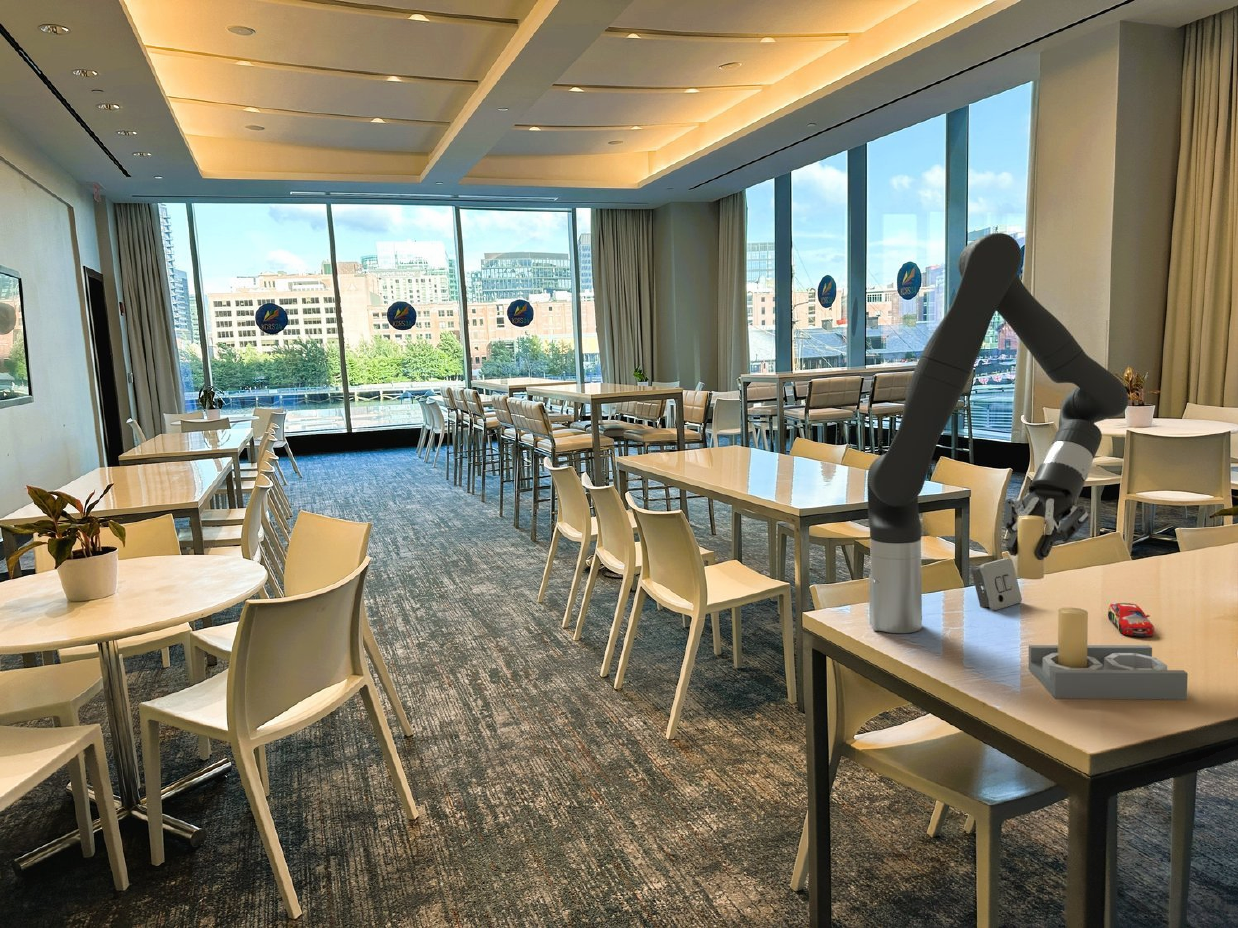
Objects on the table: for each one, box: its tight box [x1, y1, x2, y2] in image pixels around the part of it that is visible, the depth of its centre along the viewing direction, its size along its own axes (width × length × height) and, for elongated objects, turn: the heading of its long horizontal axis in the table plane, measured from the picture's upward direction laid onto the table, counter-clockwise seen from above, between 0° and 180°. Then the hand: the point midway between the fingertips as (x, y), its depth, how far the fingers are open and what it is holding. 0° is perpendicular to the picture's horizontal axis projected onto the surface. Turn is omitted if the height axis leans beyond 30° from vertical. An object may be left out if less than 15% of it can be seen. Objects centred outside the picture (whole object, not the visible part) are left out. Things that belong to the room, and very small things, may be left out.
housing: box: [1027, 606, 1189, 701], centre depth 129 cm, size 18×12×12 cm, turn 82°
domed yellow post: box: [1016, 515, 1045, 581], centre depth 140 cm, size 4×4×10 cm
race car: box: [1107, 602, 1155, 637], centre depth 154 cm, size 13×5×4 cm, turn 161°
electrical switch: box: [971, 557, 1023, 611], centre depth 171 cm, size 9×5×9 cm, turn 121°
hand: (1024, 554), depth 139 cm, fingers closed on domed yellow post, 4 cm apart
